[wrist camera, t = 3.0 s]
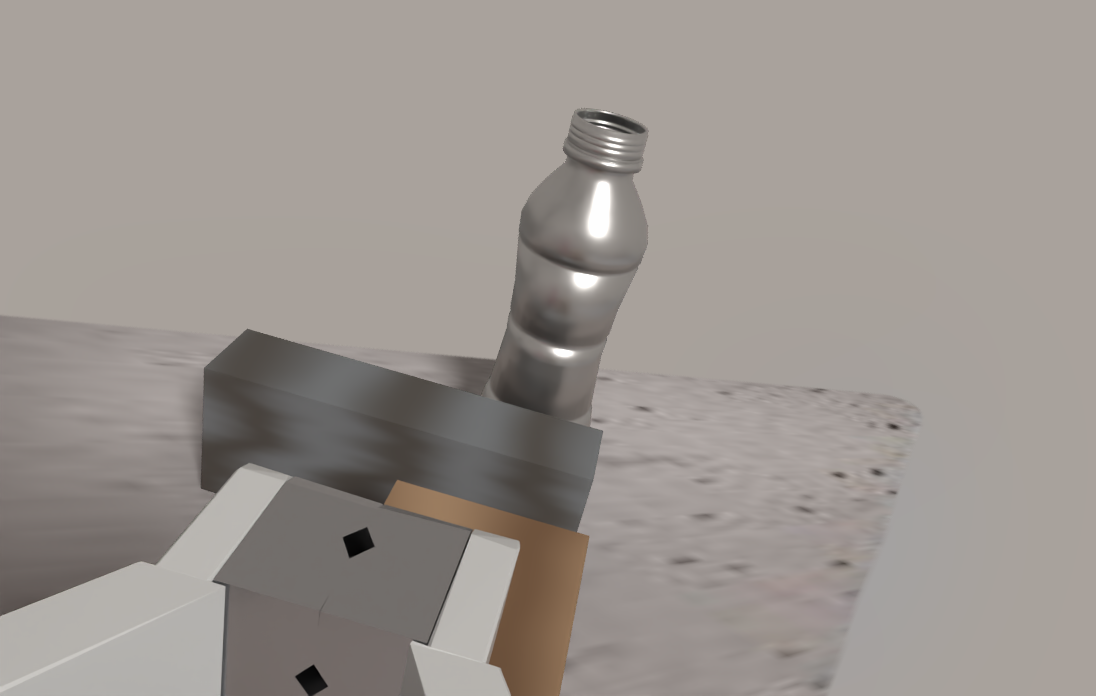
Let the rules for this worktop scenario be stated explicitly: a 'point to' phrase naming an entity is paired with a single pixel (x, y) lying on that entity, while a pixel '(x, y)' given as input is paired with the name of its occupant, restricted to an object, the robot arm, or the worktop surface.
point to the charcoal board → (387, 432)
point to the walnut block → (520, 586)
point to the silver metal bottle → (573, 269)
